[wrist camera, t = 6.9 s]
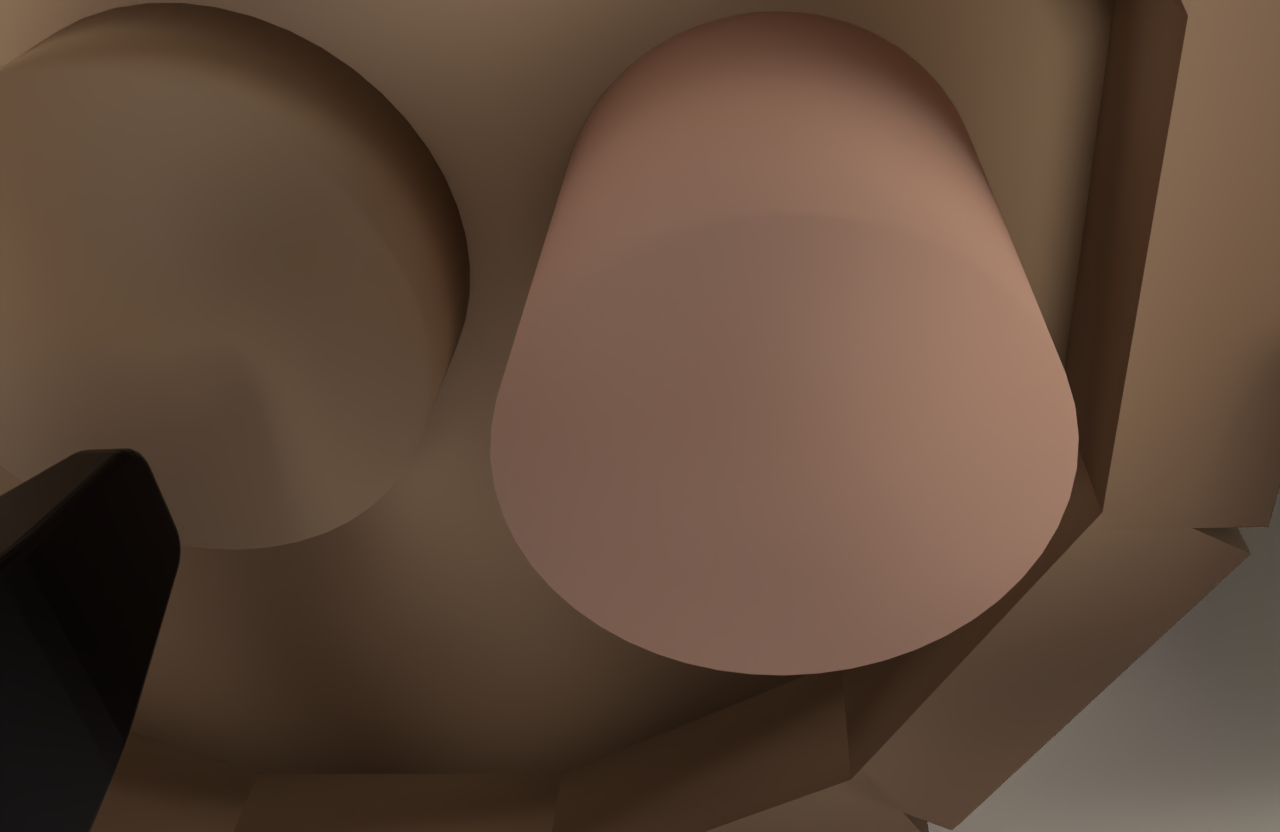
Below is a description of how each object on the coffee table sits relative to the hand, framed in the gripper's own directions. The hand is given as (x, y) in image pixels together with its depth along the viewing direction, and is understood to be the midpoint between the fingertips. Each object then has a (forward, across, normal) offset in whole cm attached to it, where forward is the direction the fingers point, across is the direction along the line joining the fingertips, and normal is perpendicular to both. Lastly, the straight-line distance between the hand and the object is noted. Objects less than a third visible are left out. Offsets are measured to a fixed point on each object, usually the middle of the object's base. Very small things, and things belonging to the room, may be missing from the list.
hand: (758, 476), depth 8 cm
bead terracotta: (+4, 0, 0) cm, 4 cm away
